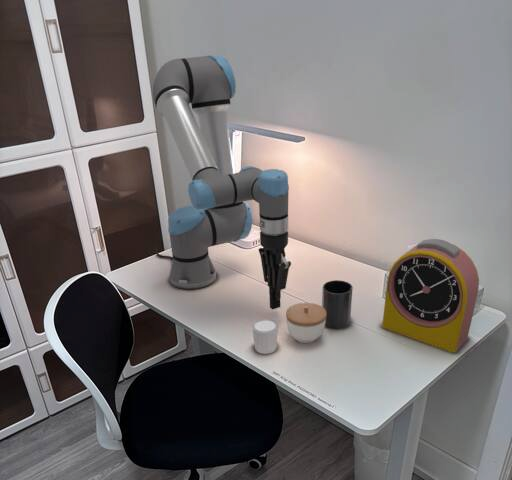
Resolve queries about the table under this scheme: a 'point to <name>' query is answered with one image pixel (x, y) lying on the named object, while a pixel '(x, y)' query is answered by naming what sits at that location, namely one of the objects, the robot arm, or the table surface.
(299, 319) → the trinket box
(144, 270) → the table surface
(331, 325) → the pen cup
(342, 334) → the table surface
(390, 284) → the alarm clock
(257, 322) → the white cylinder
